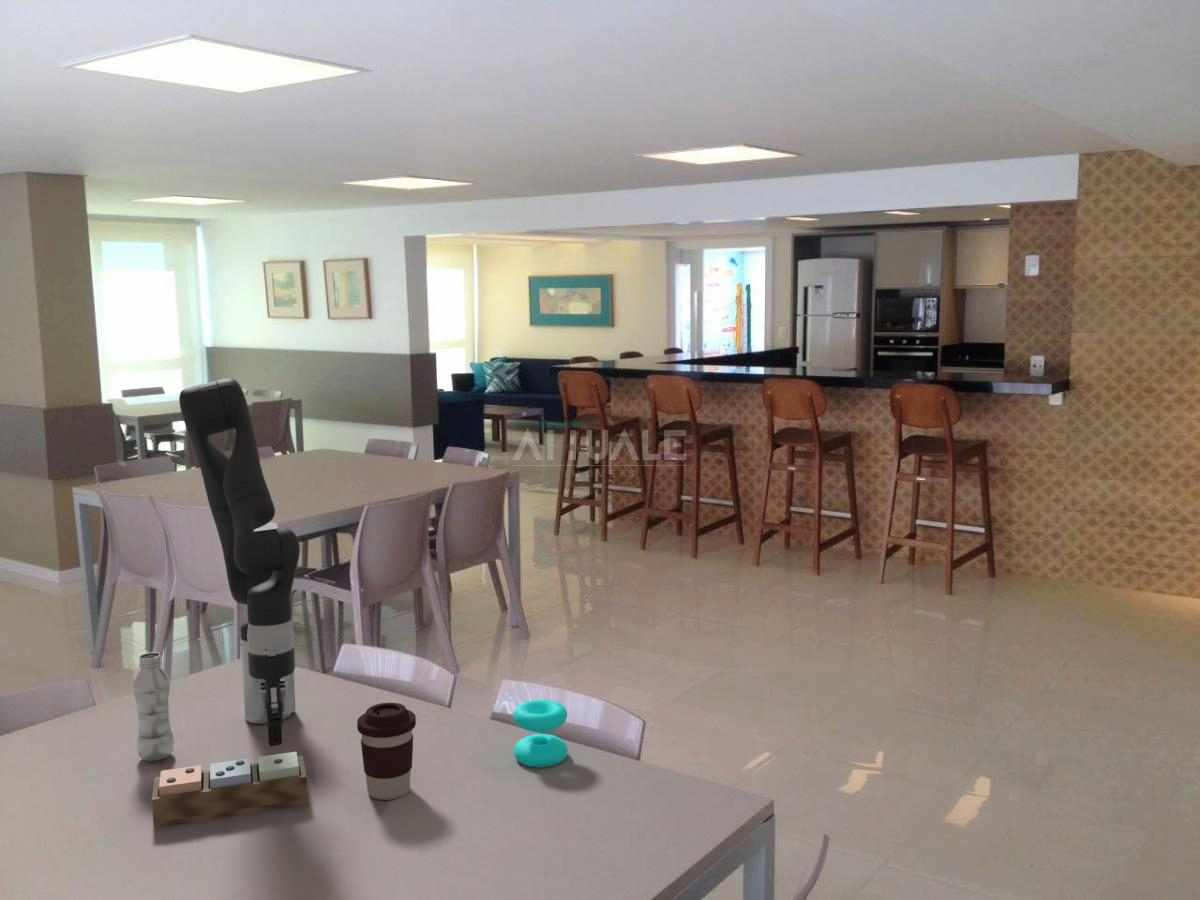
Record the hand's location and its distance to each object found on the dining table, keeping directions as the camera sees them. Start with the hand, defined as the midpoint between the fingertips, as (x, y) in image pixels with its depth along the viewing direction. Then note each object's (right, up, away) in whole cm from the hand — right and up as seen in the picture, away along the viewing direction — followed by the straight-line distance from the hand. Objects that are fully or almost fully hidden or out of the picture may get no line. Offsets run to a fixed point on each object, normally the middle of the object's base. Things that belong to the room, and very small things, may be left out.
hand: (275, 744), depth 178 cm
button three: (-7, -7, -2) cm, 10 cm away
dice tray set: (-7, -10, -1) cm, 12 cm away
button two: (-14, -7, -4) cm, 17 cm away
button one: (0, -6, +1) cm, 6 cm away
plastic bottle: (-28, -8, +18) cm, 34 cm away
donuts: (+44, -8, +17) cm, 48 cm away
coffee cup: (+19, -10, +4) cm, 21 cm away
